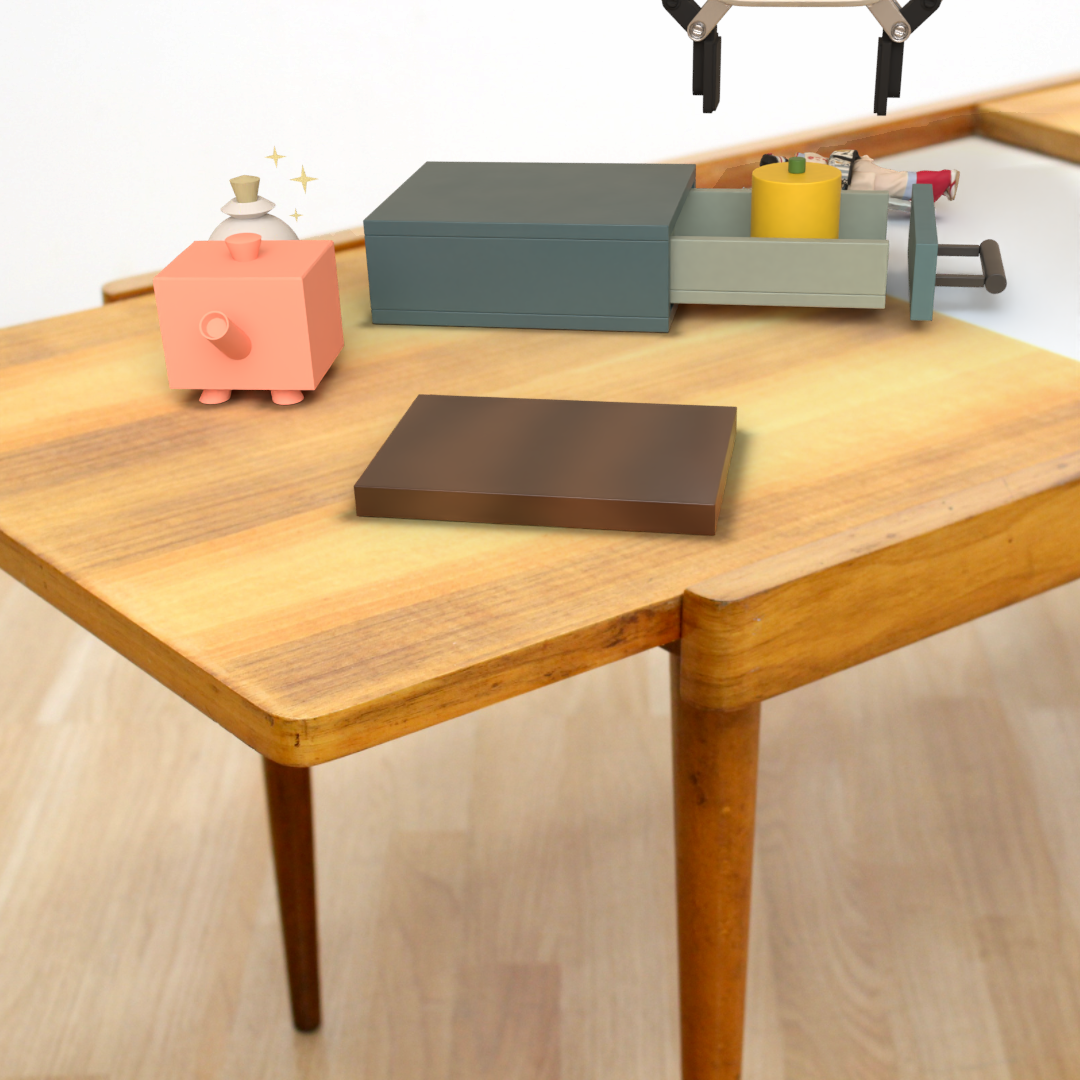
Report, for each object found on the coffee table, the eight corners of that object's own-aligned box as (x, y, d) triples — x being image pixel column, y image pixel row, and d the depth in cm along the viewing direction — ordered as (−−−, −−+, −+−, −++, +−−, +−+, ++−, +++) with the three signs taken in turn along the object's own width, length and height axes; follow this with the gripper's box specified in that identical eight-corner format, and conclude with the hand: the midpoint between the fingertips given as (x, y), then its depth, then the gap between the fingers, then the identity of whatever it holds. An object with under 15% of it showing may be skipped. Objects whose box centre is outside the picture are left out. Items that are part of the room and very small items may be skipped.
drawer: (994, 254, 97) (1000, 184, 95) (1008, 323, 86) (1016, 245, 84) (665, 247, 101) (665, 180, 99) (637, 312, 90) (636, 238, 88)
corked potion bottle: (222, 295, 99) (201, 136, 94) (338, 292, 98) (323, 133, 94) (201, 326, 93) (177, 160, 89) (324, 323, 93) (306, 156, 88)
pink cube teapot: (151, 431, 79) (125, 274, 75) (222, 349, 90) (203, 208, 86) (300, 433, 78) (282, 274, 74) (354, 350, 89) (340, 207, 85)
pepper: (838, 251, 95) (843, 148, 92) (835, 277, 90) (841, 169, 88) (753, 249, 96) (755, 147, 93) (746, 275, 91) (748, 168, 89)
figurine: (941, 204, 114) (738, 180, 115) (964, 149, 106) (745, 124, 107) (933, 280, 113) (727, 255, 114) (955, 230, 105) (734, 204, 106)
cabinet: (695, 259, 102) (696, 163, 99) (668, 332, 89) (668, 225, 86) (433, 254, 105) (426, 161, 102) (372, 324, 93) (362, 220, 90)
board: (736, 434, 76) (737, 406, 75) (714, 536, 66) (715, 504, 66) (420, 421, 79) (418, 393, 78) (356, 516, 69) (353, 485, 69)
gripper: (976, -228, 83) (947, 98, 91) (655, -219, 86) (654, 94, 94) (984, -224, 77) (951, 126, 84) (636, -215, 80) (636, 122, 88)
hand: (794, 109), depth 89 cm, fingers open, 9 cm apart
